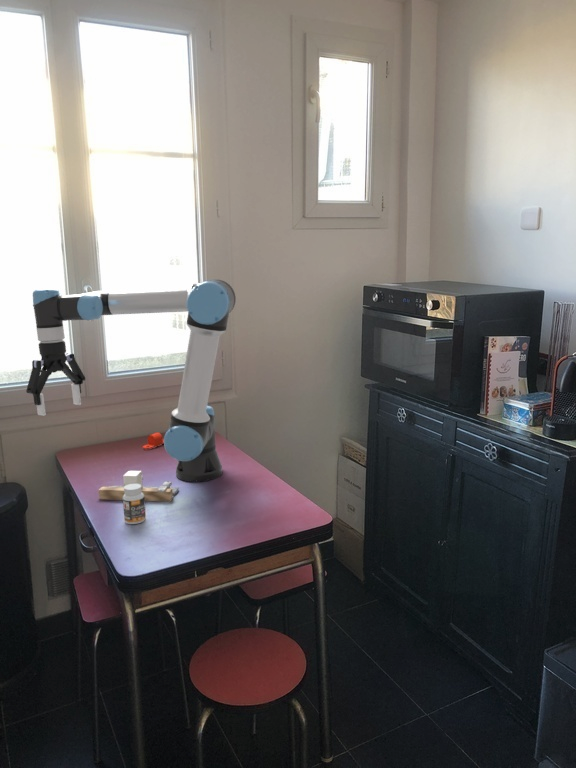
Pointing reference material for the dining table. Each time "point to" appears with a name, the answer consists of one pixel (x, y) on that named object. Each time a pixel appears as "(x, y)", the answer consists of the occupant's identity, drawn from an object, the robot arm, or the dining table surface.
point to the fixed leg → (165, 486)
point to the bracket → (154, 440)
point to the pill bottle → (134, 504)
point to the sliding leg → (133, 478)
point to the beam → (149, 493)
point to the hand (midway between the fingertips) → (60, 409)
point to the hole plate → (174, 489)
